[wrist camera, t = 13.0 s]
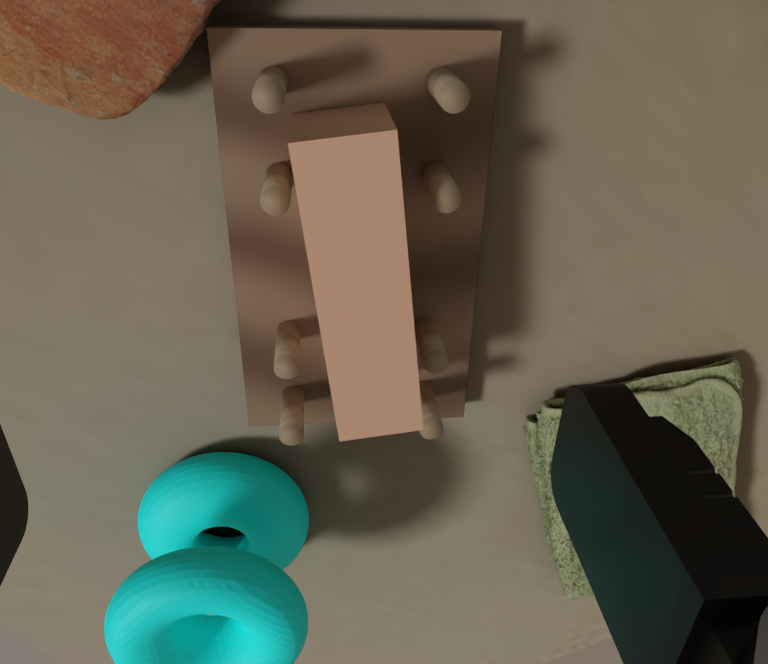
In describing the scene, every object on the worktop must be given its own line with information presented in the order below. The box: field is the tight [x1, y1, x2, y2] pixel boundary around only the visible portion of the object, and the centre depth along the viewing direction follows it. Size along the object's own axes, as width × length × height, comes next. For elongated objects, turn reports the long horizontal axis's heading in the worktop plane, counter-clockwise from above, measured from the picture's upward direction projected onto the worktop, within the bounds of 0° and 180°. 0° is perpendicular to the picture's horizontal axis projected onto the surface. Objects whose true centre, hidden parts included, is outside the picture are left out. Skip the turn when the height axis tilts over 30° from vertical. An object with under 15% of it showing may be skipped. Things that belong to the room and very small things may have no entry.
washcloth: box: [524, 357, 744, 599], centre depth 41 cm, size 13×18×3 cm
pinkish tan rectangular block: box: [288, 103, 423, 442], centre depth 29 cm, size 14×4×5 cm, turn 6°
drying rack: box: [206, 25, 502, 446], centre depth 30 cm, size 20×12×5 cm, turn 179°
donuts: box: [104, 452, 309, 664], centre depth 36 cm, size 10×10×10 cm
